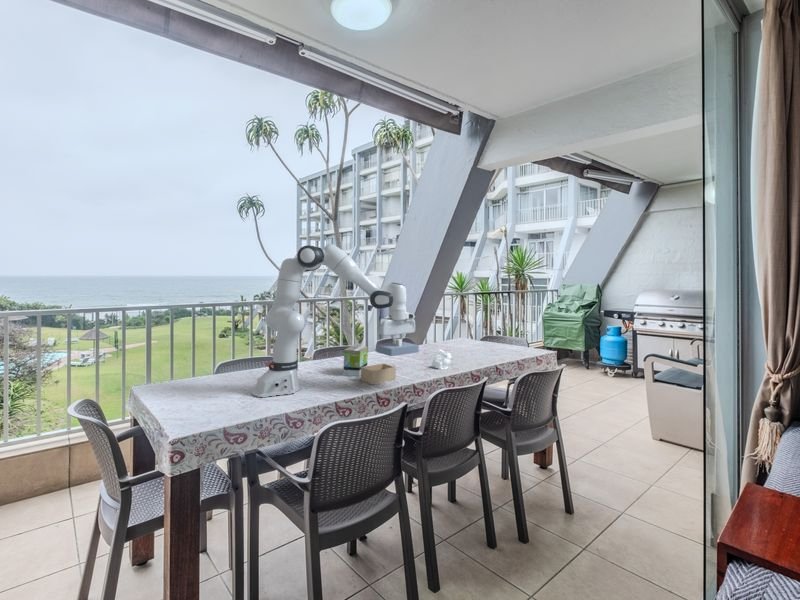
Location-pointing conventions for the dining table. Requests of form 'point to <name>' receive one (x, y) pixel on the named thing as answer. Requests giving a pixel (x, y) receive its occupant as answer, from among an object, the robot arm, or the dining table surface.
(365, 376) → the mailer box
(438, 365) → the rabbit
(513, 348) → the dining table surface
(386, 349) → the mailer lid
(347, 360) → the tea box
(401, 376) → the dining table surface
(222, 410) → the dining table surface
